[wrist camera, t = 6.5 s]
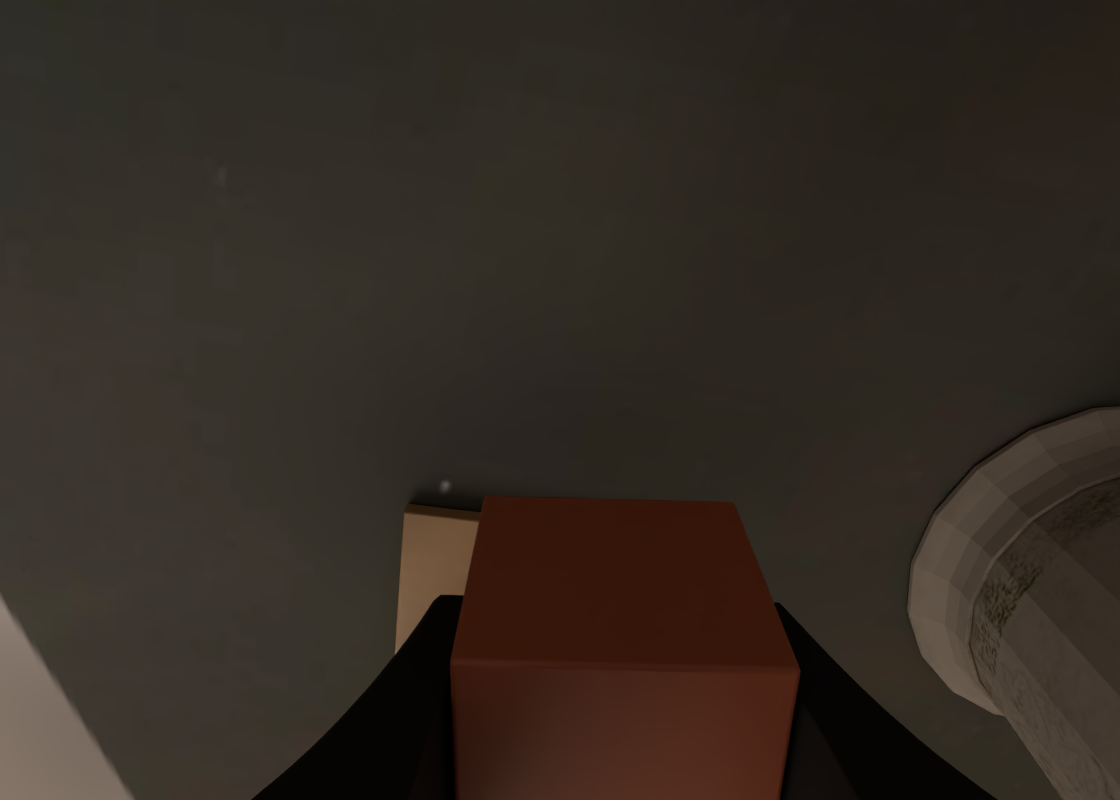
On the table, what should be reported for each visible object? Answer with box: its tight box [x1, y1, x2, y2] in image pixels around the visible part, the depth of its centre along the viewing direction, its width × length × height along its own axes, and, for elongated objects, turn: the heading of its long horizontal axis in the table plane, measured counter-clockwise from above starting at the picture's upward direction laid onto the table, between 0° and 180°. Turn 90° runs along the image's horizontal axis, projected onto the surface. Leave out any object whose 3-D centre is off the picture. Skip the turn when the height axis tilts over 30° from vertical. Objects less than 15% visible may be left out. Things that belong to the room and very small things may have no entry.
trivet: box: [394, 504, 481, 655], centre depth 22 cm, size 7×7×1 cm
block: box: [450, 496, 801, 800], centre depth 12 cm, size 4×4×4 cm
